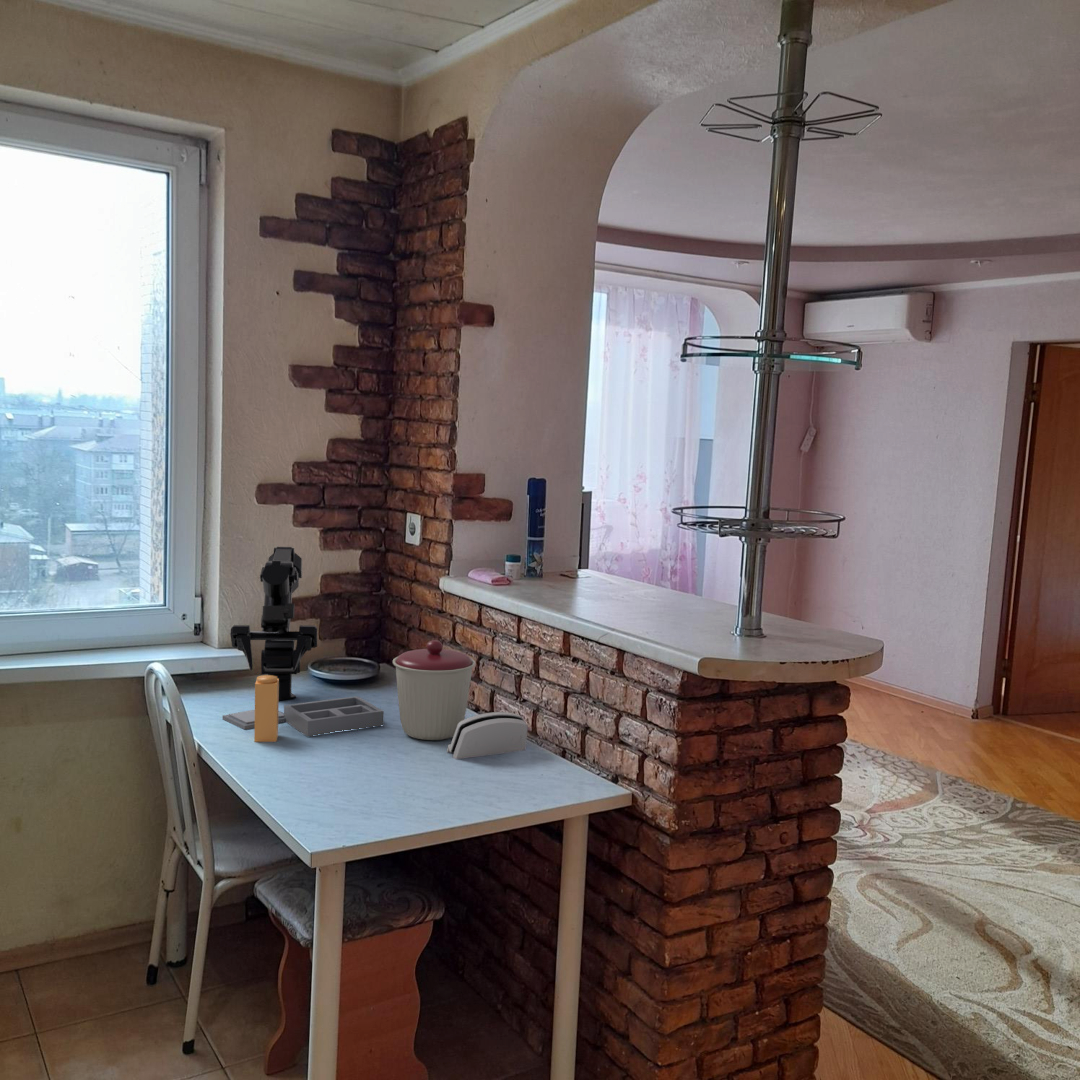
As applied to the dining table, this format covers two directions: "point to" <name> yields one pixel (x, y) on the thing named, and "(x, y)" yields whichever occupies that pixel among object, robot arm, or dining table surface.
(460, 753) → the napkin holder
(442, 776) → the dining table surface
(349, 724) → the tray
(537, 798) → the dining table surface
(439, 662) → the canister
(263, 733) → the post
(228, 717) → the lid
